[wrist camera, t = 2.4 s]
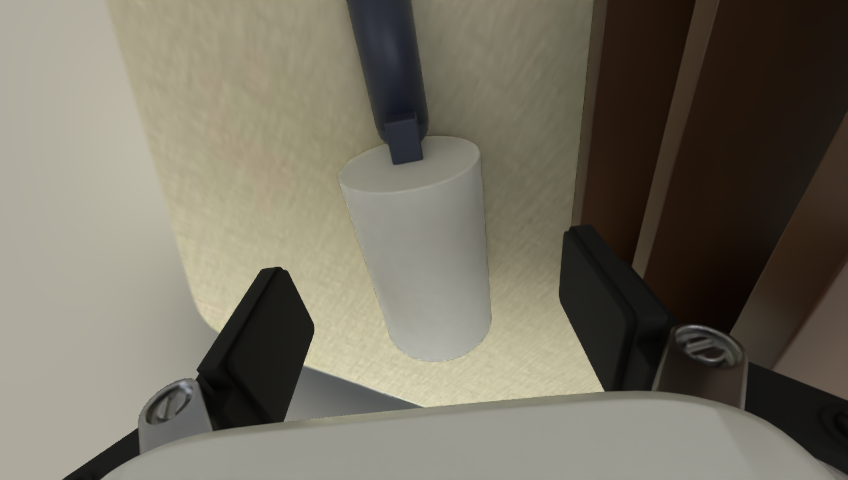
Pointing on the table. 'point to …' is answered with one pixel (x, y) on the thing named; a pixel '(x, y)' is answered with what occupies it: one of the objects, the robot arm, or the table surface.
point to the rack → (727, 168)
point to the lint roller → (416, 200)
